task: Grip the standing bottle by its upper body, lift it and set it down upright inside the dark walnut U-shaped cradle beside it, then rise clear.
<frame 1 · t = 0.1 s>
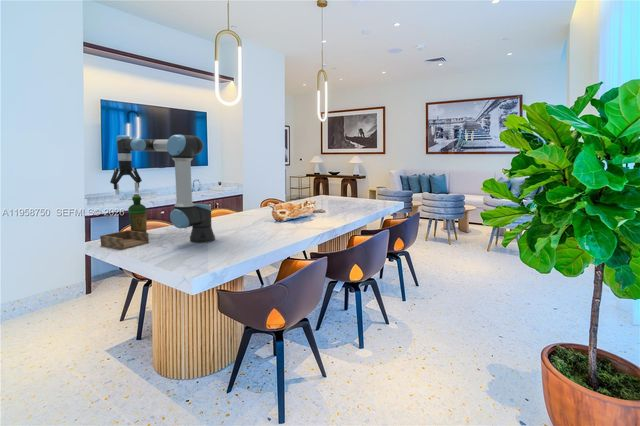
hand: (127, 193, 235), 28 cm above the table, tool pointing down, fingers open, 13 cm apart
bottle: (139, 237, 237), on the table
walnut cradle: (125, 244, 218), on the table
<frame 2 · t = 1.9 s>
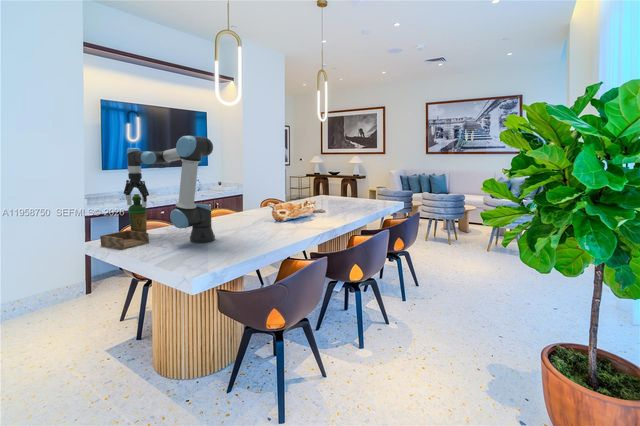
hand: (136, 206, 234), 20 cm above the table, tool pointing down, fingers open, 13 cm apart
nothing on the table moved.
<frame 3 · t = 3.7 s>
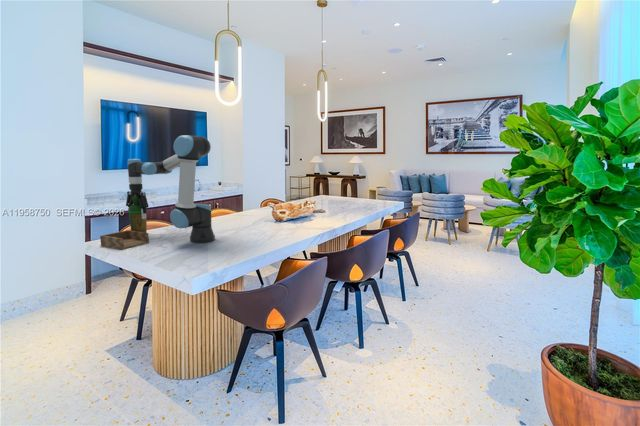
hand: (138, 217, 235), 13 cm above the table, tool pointing down, fingers closed on bottle, 10 cm apart
bottle: (139, 237, 237), on the table, touching gripper
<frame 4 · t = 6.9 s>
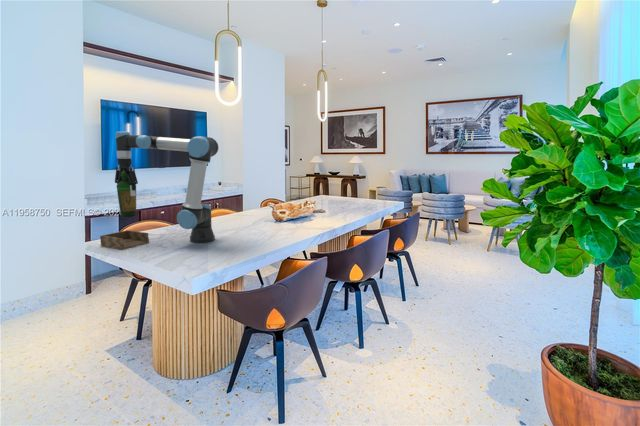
hand: (127, 195, 220), 29 cm above the table, tool pointing down, fingers closed on bottle, 10 cm apart
bottle: (128, 216, 222), point 16 cm above the table, touching gripper
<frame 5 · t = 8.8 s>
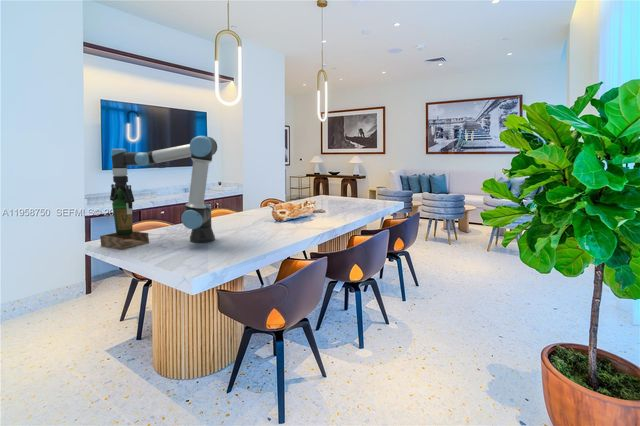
hand: (123, 213, 215), 19 cm above the table, tool pointing down, fingers closed on bottle, 10 cm apart
bottle: (124, 234, 217), point 6 cm above the table, touching gripper
when the fingers open (15 cm above the table, at t = 10.4 s): bottle drops 1 cm, resting on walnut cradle.
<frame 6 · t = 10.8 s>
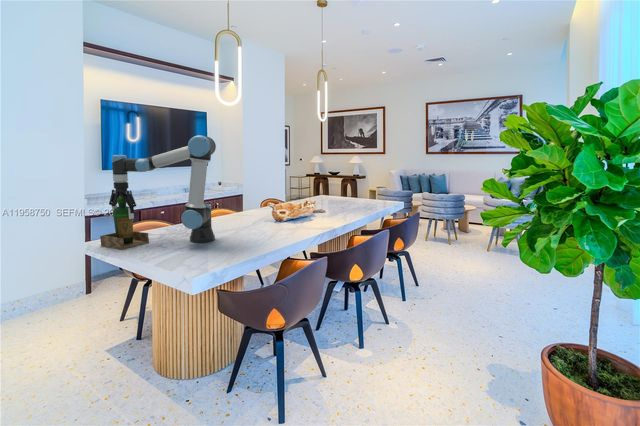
hand: (123, 217, 215), 16 cm above the table, tool pointing down, fingers open, 13 cm apart
bottle: (125, 242, 218), point 1 cm above the table, touching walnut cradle
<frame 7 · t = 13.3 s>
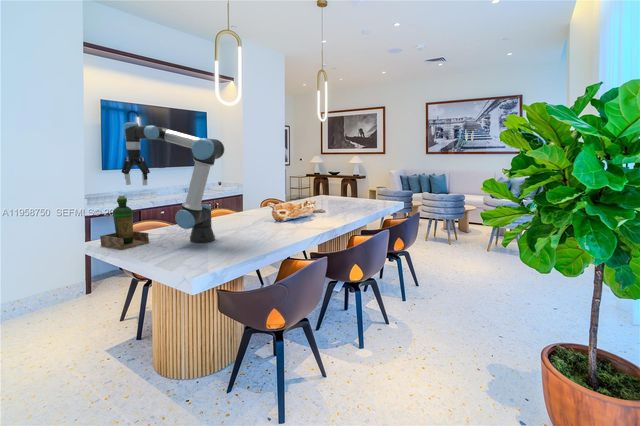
hand: (136, 185, 220), 35 cm above the table, tool pointing down, fingers open, 13 cm apart
nothing on the table moved.
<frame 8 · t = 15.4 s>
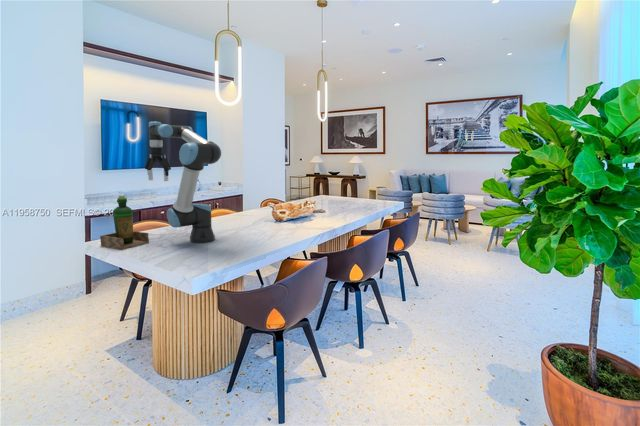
hand: (158, 180, 234), 37 cm above the table, tool pointing down, fingers open, 13 cm apart
nothing on the table moved.
at the end: bottle inside the target area on the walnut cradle (0.1 cm from its centre), point 1.0 cm above the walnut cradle's base; bottle tilted 0°; the gripper is holding nothing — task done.
